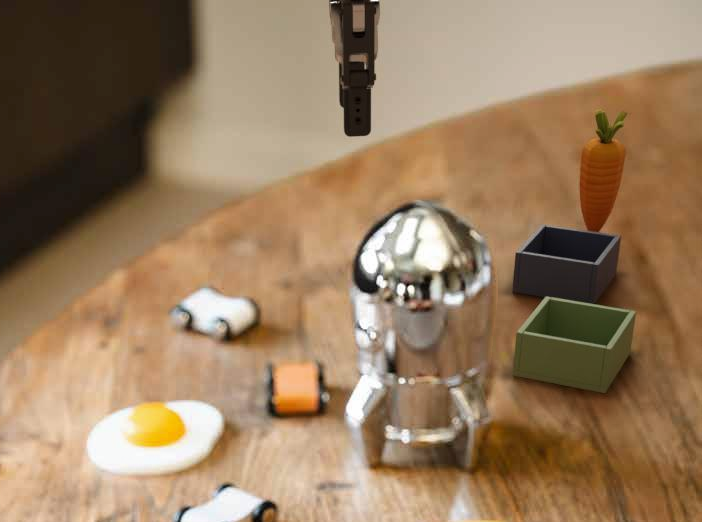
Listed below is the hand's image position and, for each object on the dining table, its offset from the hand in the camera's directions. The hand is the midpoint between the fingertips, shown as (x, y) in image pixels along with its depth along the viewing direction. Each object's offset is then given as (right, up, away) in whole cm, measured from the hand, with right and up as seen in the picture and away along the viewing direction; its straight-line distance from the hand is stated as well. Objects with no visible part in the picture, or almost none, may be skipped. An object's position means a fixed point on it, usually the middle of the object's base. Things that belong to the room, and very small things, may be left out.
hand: (354, 120), depth 103 cm
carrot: (+31, +3, +44) cm, 54 cm away
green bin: (+23, -18, +17) cm, 33 cm away
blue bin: (+25, -6, +33) cm, 42 cm away
